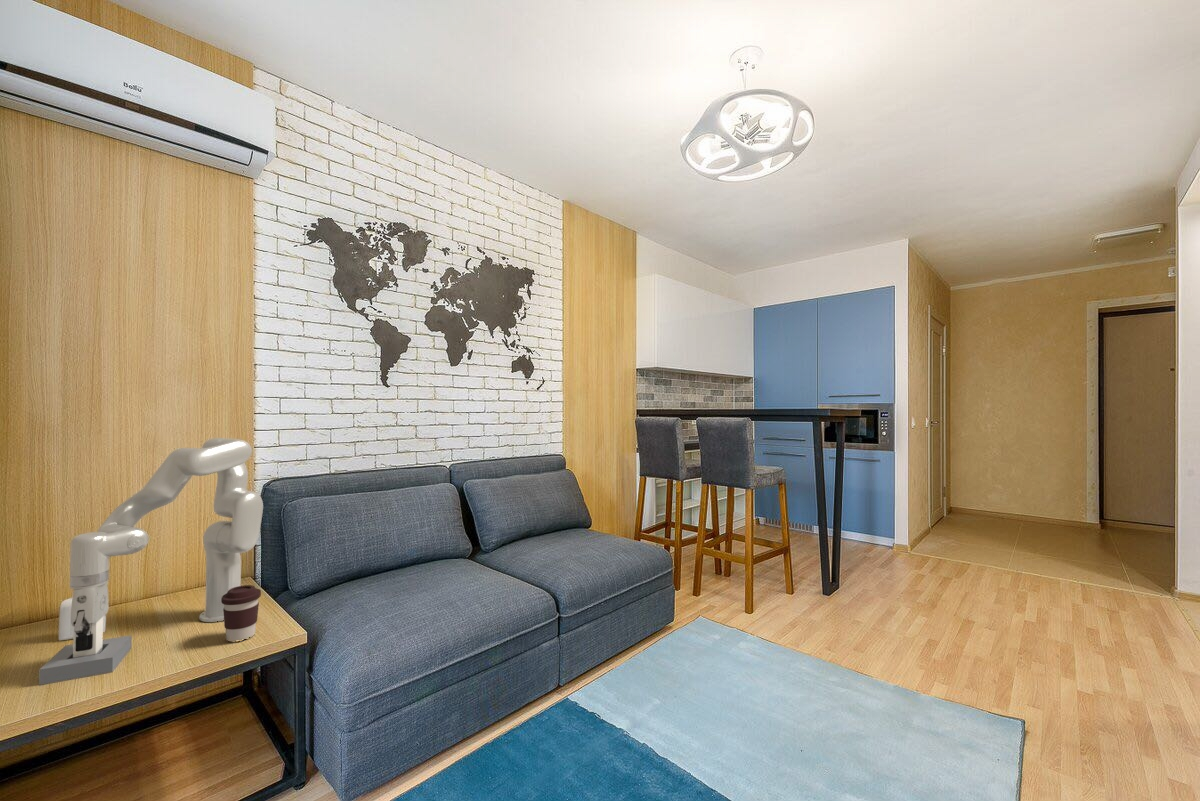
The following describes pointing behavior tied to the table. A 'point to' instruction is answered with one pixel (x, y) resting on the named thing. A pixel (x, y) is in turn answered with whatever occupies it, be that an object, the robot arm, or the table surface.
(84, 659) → the socket box
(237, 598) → the coffee cup
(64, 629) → the photo printer
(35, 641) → the table surface
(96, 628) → the plug
